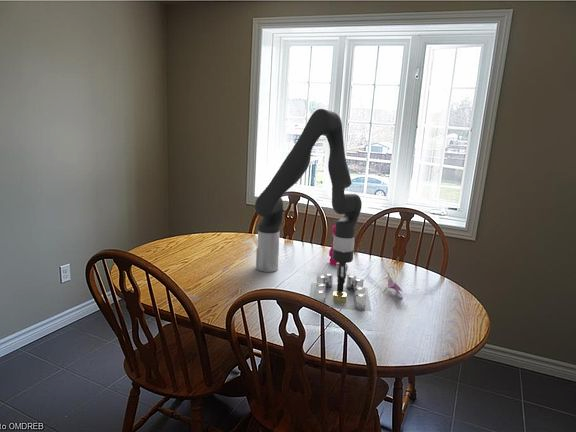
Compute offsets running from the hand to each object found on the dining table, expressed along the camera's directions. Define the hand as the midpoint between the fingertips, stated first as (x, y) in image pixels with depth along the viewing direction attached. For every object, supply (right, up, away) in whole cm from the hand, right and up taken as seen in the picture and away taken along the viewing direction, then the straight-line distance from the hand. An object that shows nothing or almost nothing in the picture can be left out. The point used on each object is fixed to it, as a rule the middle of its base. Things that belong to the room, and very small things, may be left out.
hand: (340, 291), depth 154 cm
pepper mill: (+3, +6, +36) cm, 36 cm away
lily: (+20, -2, +4) cm, 21 cm away
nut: (-1, -2, -5) cm, 5 cm away
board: (-1, -4, -7) cm, 8 cm away
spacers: (-1, -2, -2) cm, 3 cm away
